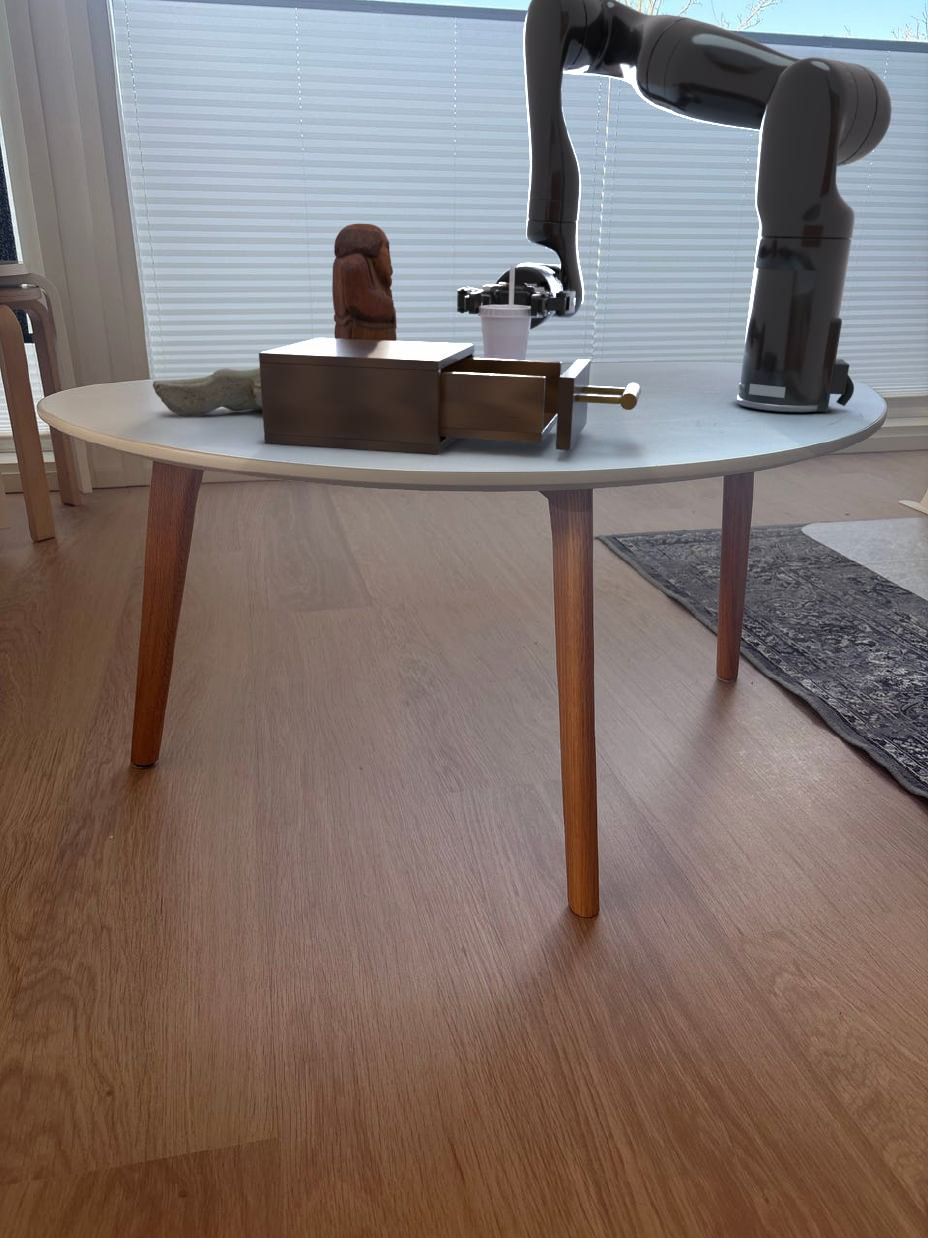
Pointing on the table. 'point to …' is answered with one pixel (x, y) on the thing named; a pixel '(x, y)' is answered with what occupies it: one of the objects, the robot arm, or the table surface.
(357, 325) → the wooden figurine
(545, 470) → the table surface
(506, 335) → the smoothie
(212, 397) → the sculpture
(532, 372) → the drawer
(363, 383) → the cabinet
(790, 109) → the robot arm
